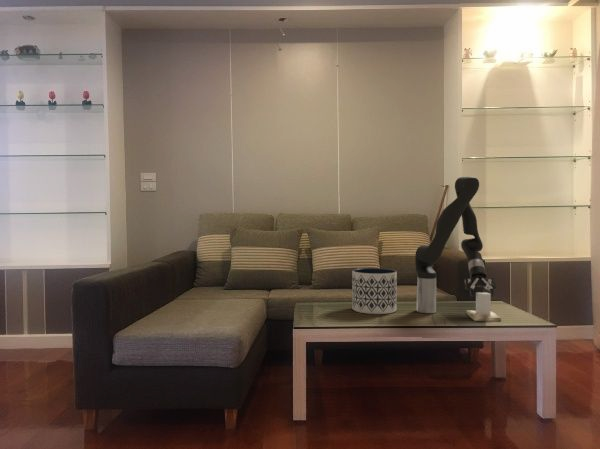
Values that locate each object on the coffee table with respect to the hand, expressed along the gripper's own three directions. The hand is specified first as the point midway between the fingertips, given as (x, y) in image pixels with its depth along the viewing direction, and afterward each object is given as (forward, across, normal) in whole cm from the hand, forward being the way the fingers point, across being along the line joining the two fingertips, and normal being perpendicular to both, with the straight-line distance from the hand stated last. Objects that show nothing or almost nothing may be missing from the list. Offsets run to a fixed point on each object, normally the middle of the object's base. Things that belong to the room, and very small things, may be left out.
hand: (482, 296), depth 239 cm
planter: (0, -51, +14) cm, 53 cm away
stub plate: (+7, 0, +6) cm, 10 cm away
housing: (+6, 0, +5) cm, 8 cm away
